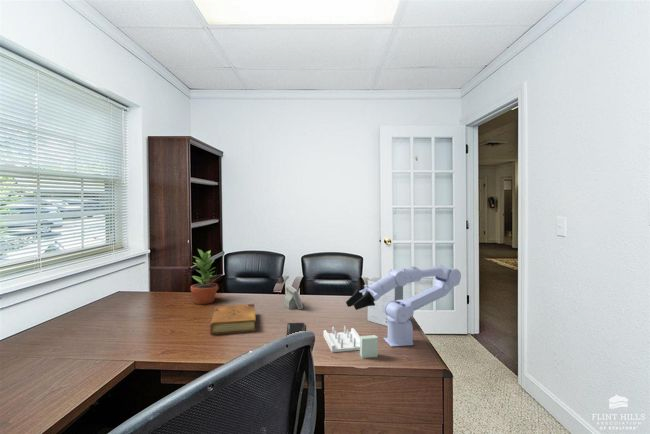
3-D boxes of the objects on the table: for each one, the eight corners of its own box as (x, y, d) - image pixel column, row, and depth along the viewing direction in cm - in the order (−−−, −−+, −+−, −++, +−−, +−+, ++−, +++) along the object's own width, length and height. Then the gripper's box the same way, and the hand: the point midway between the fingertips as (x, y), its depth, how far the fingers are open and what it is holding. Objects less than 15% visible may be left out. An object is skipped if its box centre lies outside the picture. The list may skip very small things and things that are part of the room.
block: (375, 353, 122) (375, 335, 122) (377, 356, 120) (377, 337, 120) (359, 355, 121) (359, 336, 121) (361, 358, 119) (362, 338, 118)
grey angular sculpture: (303, 310, 172) (303, 290, 171) (286, 311, 170) (286, 291, 169) (299, 301, 188) (299, 282, 187) (283, 302, 186) (283, 283, 185)
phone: (286, 336, 136) (287, 322, 151) (286, 338, 136) (287, 325, 151) (305, 335, 137) (304, 322, 152) (305, 338, 137) (304, 325, 152)
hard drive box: (403, 324, 152) (404, 281, 151) (394, 329, 147) (395, 284, 146) (375, 316, 163) (376, 276, 162) (366, 320, 157) (366, 279, 156)
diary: (215, 318, 161) (215, 306, 161) (254, 315, 165) (254, 303, 165) (210, 335, 139) (210, 322, 138) (255, 332, 143) (255, 319, 143)
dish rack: (353, 333, 141) (353, 324, 141) (365, 349, 126) (365, 339, 125) (323, 336, 138) (323, 326, 138) (332, 352, 123) (332, 341, 123)
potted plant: (214, 305, 179) (213, 250, 178) (186, 305, 179) (185, 250, 178) (222, 297, 194) (222, 246, 192) (197, 297, 194) (196, 246, 193)
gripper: (367, 278, 135) (339, 294, 131) (383, 280, 122) (353, 298, 117) (374, 293, 135) (347, 310, 131) (392, 297, 122) (362, 316, 117)
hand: (350, 305), depth 124 cm, fingers open, 7 cm apart
